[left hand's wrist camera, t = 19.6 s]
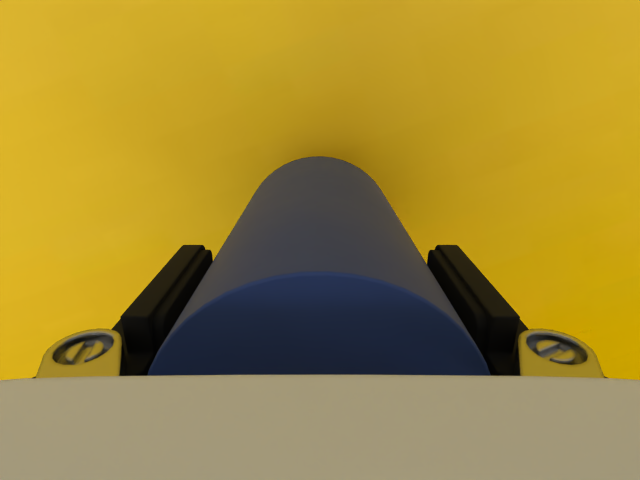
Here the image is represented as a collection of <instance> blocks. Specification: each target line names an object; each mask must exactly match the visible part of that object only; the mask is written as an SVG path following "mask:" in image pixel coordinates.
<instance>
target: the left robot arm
mask: <svg viewBox="0 0 640 480" xmlns="http://www.w3.org/2000/svg"><path fill="white" fill-rule="evenodd" d="M212 262H213V259H212V253H211V251H210V250H205V247H204V246H203V245H183V246H182V247H181V248H180V249H179V250H178V251H177V252H176V254H175V255H174V256H173V257H172V258H171V259H170V261H169V262H168V263H167V264H166V265H165V266H164V267H163V269H162V270H161V271H160V272H159V273H158V274H157V275H156V277H155V278H154V279H153V280H152V281H151V282H150V283H149V285H148V286H147V287H146V288H145V289H144V290H143V292H142V293H141V294H140V295H139V296H138V297H137V298H136V300H135V301H134V302H133V303H132V304H131V305H130V306H129V308H128V309H127V310H126V311H125V312H124V313H123V314H122V316H121V319H120V320H119V321H118V323H117V324H116V325H115V326H114V327H113V328H112V330H110V329H91V330H85V331H81V332H78V333H75V334H72V335H70V336H67V337H65V338H63V339H61V340H59V341H58V342H56V343H55V344H53V345H52V346H51V347H50V348H49V349H48V350H47V351H46V353H45V354H44V356H43V359H42V361H41V364H40V367H39V369H38V372H37V375H36V377H33V378H27V379H12V380H0V480H640V380H628V379H611V378H607V377H604V375H603V372H602V370H601V367H600V364H599V361H598V359H597V356H596V354H595V353H594V351H593V350H592V349H591V348H590V347H589V346H588V345H587V344H585V343H584V342H582V341H581V340H579V339H577V338H575V337H573V336H570V335H568V334H565V333H562V332H559V331H555V330H549V329H530V330H529V329H528V328H527V327H526V326H525V325H524V323H523V322H522V321H521V320H520V316H519V315H518V314H517V313H516V312H515V311H514V310H513V308H512V307H511V306H510V305H509V304H508V303H507V302H506V300H505V299H504V298H503V297H502V296H501V295H500V294H499V292H498V291H497V290H496V289H495V288H494V287H493V286H492V284H491V283H490V282H489V281H488V280H487V279H486V277H485V276H484V275H483V274H482V273H481V272H480V271H479V269H478V268H477V267H476V266H475V265H474V264H473V263H472V261H471V260H470V259H469V258H468V257H467V256H466V255H465V253H464V252H463V251H462V250H461V249H460V248H459V247H458V246H457V245H437V246H436V248H435V250H430V251H429V253H428V261H427V266H428V267H429V269H430V271H431V272H432V274H433V275H434V277H435V279H436V280H437V282H438V284H439V285H440V287H441V288H442V290H443V292H444V293H445V295H446V297H447V298H448V300H449V301H450V303H451V305H452V306H453V308H454V310H455V311H456V313H457V314H458V316H459V318H460V319H461V321H462V323H463V324H464V326H465V327H466V329H467V331H468V332H469V334H470V336H471V337H472V339H473V340H474V342H475V344H476V345H477V347H478V349H479V351H480V352H481V354H482V356H483V358H484V360H485V361H486V363H487V366H488V369H489V372H490V375H491V376H461V375H176V376H147V375H148V372H149V369H150V367H151V365H152V363H153V361H154V358H155V356H156V354H157V352H158V350H159V349H160V347H161V346H162V344H163V342H164V341H165V339H166V337H167V336H168V334H169V333H170V331H171V329H172V328H173V326H174V324H175V323H176V321H177V319H178V318H179V316H180V315H181V313H182V311H183V310H184V308H185V306H186V305H187V303H188V302H189V300H190V298H191V297H192V295H193V293H194V292H195V290H196V288H197V287H198V285H199V284H200V282H201V280H202V279H203V277H204V275H205V274H206V272H207V270H208V269H209V267H210V266H211V264H212Z"/></svg>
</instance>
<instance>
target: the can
mask: <svg viewBox="0 0 640 480" xmlns="http://www.w3.org/2000/svg"><path fill="white" fill-rule="evenodd" d="M176 375H461V376H491V375H490V372H489V369H488V366H487V363H486V361H485V360H484V358H483V356H482V354H481V352H480V351H479V349H478V347H477V345H476V344H475V342H474V340H473V339H472V337H471V336H470V334H469V332H468V331H467V329H466V327H465V326H464V324H463V323H462V321H461V319H460V318H459V316H458V314H457V313H456V311H455V310H454V308H453V306H452V305H451V303H450V301H449V300H448V298H447V297H446V295H445V293H444V292H443V290H442V288H441V287H440V285H439V284H438V282H437V280H436V279H435V277H434V275H433V274H432V272H431V271H430V269H429V267H428V266H427V264H426V262H425V261H424V259H423V258H422V256H421V254H420V253H419V251H418V249H417V248H416V246H415V245H414V243H413V241H412V240H411V238H410V236H409V235H408V233H407V232H406V230H405V228H404V227H403V225H402V223H401V222H400V220H399V219H398V217H397V215H396V214H395V212H394V211H393V209H392V207H391V206H390V204H389V202H388V201H387V199H386V198H385V196H384V194H383V193H382V191H381V189H380V188H379V187H378V185H377V184H376V183H375V181H374V180H373V179H372V178H371V177H370V176H369V175H368V174H366V173H365V172H364V171H362V170H361V169H360V168H358V167H356V166H354V165H353V164H351V163H348V162H346V161H343V160H340V159H336V158H331V157H308V158H302V159H298V160H295V161H292V162H290V163H287V164H285V165H283V166H282V167H280V168H278V169H277V170H275V171H274V172H273V173H271V174H270V175H269V176H268V177H267V178H266V179H265V180H264V181H263V182H262V183H261V185H260V186H259V188H258V189H257V191H256V192H255V194H254V195H253V197H252V199H251V200H250V202H249V204H248V205H247V207H246V208H245V210H244V212H243V213H242V215H241V217H240V218H239V220H238V221H237V223H236V225H235V226H234V228H233V230H232V231H231V233H230V235H229V236H228V238H227V239H226V241H225V243H224V244H223V246H222V248H221V249H220V251H219V253H218V254H217V256H216V257H215V259H214V261H213V262H212V264H211V266H210V267H209V269H208V270H207V272H206V274H205V275H204V277H203V279H202V280H201V282H200V284H199V285H198V287H197V288H196V290H195V292H194V293H193V295H192V297H191V298H190V300H189V302H188V303H187V305H186V306H185V308H184V310H183V311H182V313H181V315H180V316H179V318H178V319H177V321H176V323H175V324H174V326H173V328H172V329H171V331H170V333H169V334H168V336H167V337H166V339H165V341H164V342H163V344H162V346H161V347H160V349H159V350H158V352H157V354H156V356H155V358H154V361H153V363H152V365H151V367H150V369H149V372H148V375H147V376H176Z"/></svg>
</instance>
